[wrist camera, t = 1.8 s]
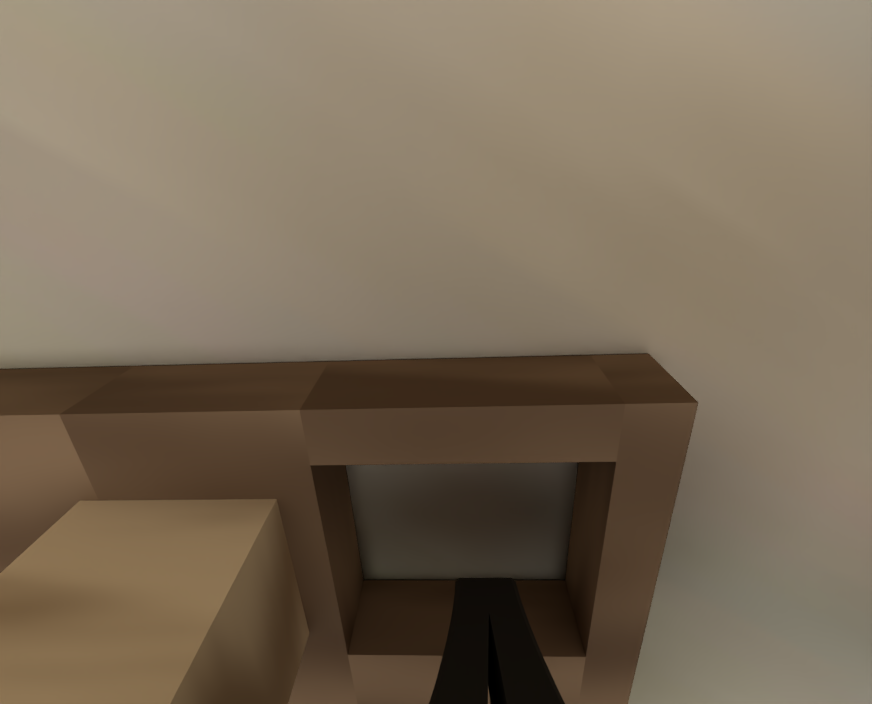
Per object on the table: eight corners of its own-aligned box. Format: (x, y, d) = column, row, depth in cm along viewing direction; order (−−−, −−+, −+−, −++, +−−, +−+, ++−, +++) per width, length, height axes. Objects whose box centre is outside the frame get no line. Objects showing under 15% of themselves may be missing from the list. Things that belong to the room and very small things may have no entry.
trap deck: (583, 735, 19) (615, 875, 15) (-12, 724, 20) (-117, 851, 16) (648, 353, 11) (742, 445, 8) (-296, 376, 13) (-600, 464, 9)
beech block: (309, 632, 13) (227, 903, 8) (142, 631, 13) (-30, 893, 8) (276, 499, 11) (140, 758, 6) (79, 500, 11) (-196, 752, 6)
